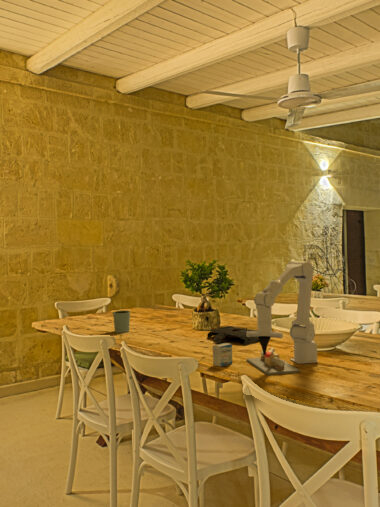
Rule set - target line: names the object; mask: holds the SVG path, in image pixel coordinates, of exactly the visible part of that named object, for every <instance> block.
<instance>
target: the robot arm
mask: <svg viewBox="0 0 380 507" xmlns="http://www.w3.org/2000/svg"><path fill="white" fill-rule="evenodd" d="M313 276H314V265H313V264H312V263H311V262H310V261H309V260H307V261H304V260H303V261H300V260H299V261H297V260H295V261H294V260H289V261H288V262H287V264H286V265H285V269H284V270H283V272H282V273H281V274H280V275H279V277H278V278H277V279H276V280H275V279H273V280H270V281H269V283H268V285H266V287H265V288H263V290H262V291H259V292H257V293H256V294H255V296H254V299H253V302H254V304H255V309H256V312H257V314H256V316H257V318H256V319H257V320H256V321H257V322H256V323H257V324H256V325H257V327H256V328H257V330H255V331H247V332H246V336H247V337H259V339H258V340H259V342H258V343H259V344H260V346H261V351H262V350H263V355H265V353H266V352H267V348H268V346H269V342H270V341H271V338H273V339H274V338H276V339H284V336H283V335H284V333H283V332H279V331H278V332H277V331H272V330H273V329H272V322H273V321H272V307H273V306H274V304H275V301H276V298H277V297H278V296H279V295H280V293H282V291H283V290H284V285H286V284H287V283H288V282H289V281H290V280H291V279H292V278H294V279H295V280H296V281H297V282H298V284H299V285H298V294H297V296H298V299H297V310H296V318H295V319H294V320H293V321H292V322H291V326H290V329H289V336H290V337H291V339H292V341H293V358H290V360H291V361H292V362H294V363H296V364H298V365H300V364H312V363H314V364H315V363H318V362H319V361H318V345H317V343H316V342H315V341H314V339H315V336H316V331H315V324H314V323H313V322H312V320H310V314H311V313H310V312H311V302H312V301H311V299H312V287H313V278H314V277H313ZM260 335H261V336H260Z"/></svg>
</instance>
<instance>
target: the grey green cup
mask: <svg viewBox="0 0 380 507" xmlns="http://www.w3.org/2000/svg"><path fill="white" fill-rule="evenodd" d="M112 315H113V316H112V317H113V325H114V333H117V334H126V333H129V332H130V325H131V324H130V321H131V319H130V318H131V311H130V310H116V311H112Z"/></svg>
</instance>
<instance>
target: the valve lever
mask: <svg viewBox="0 0 380 507" xmlns="http://www.w3.org/2000/svg"><path fill="white" fill-rule="evenodd" d="M273 352H275V353H276V350H275V347H271V348H269V349H268V351H266V353H265V357H267V358H270V357H271V356H272V353H273Z"/></svg>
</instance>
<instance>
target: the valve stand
mask: <svg viewBox="0 0 380 507" xmlns="http://www.w3.org/2000/svg"><path fill="white" fill-rule="evenodd" d="M259 354H260V355H261V356H260V357H250V358H246V362H248V363H249V364H250V365H252V366H253V367H255V368H256V369H258V370H259V371H261V372H262V373H263V374H265V375H267V376H274V375H275V374H277V375H287V374H299V373H300V374H301V369H299V368H297V367H295V366H294V365H292V364H290V363H288V362H287V361H285V360H283V359H282V358H280V354H279V353H277V352H276V351H275V352H273V353H272V356H271V357H270V358H267V357H265V355H263V350H262V349H261V351H260V353H259ZM275 376H276V375H275Z"/></svg>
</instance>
